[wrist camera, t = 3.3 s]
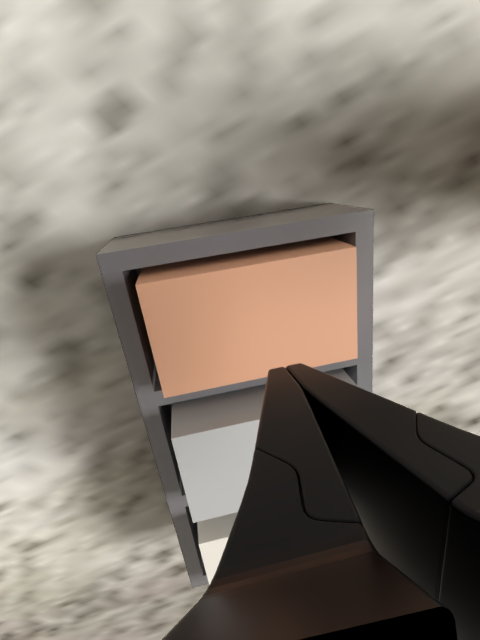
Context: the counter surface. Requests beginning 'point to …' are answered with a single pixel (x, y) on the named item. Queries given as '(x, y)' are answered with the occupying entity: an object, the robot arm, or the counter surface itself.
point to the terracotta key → (250, 313)
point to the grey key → (219, 447)
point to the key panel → (203, 241)
